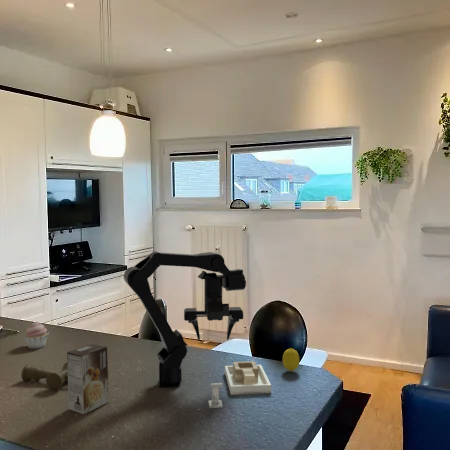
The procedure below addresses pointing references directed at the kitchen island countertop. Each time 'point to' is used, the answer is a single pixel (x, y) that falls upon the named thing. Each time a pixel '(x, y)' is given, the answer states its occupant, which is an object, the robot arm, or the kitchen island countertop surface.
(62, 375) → the olive brown dumbbell-shaped piece
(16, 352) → the kitchen island countertop surface
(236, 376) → the birch collar
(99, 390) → the food box
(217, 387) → the t stake
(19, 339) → the kitchen island countertop surface
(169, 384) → the robot arm
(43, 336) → the cupcake
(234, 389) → the tray
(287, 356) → the lemon
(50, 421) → the kitchen island countertop surface
